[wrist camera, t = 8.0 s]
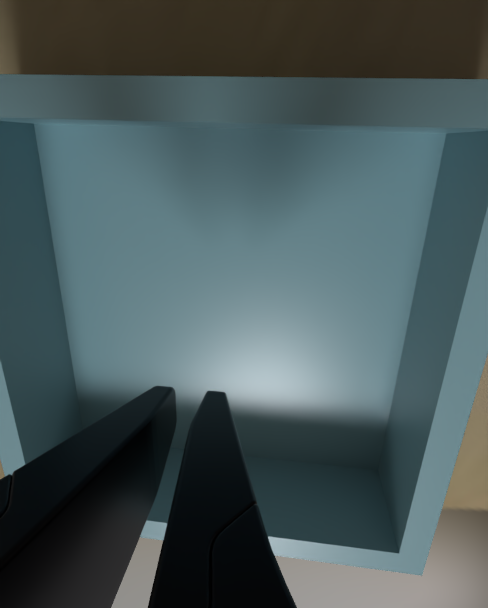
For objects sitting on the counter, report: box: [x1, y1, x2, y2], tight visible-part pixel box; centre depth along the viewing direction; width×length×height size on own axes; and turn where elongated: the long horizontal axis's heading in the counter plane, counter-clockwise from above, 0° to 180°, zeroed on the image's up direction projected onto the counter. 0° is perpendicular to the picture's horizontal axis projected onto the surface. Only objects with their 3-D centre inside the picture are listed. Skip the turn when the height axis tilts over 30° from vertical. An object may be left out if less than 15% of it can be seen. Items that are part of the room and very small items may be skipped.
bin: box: [0, 74, 488, 575], centre depth 12 cm, size 13×13×4 cm
